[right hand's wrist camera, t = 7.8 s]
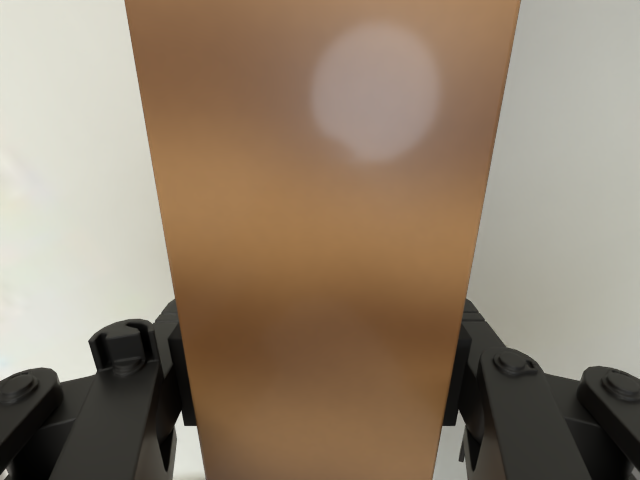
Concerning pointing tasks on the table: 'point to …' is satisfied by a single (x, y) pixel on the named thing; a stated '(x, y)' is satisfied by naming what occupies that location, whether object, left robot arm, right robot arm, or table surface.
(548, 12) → the table surface
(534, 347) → the table surface
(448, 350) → the post
